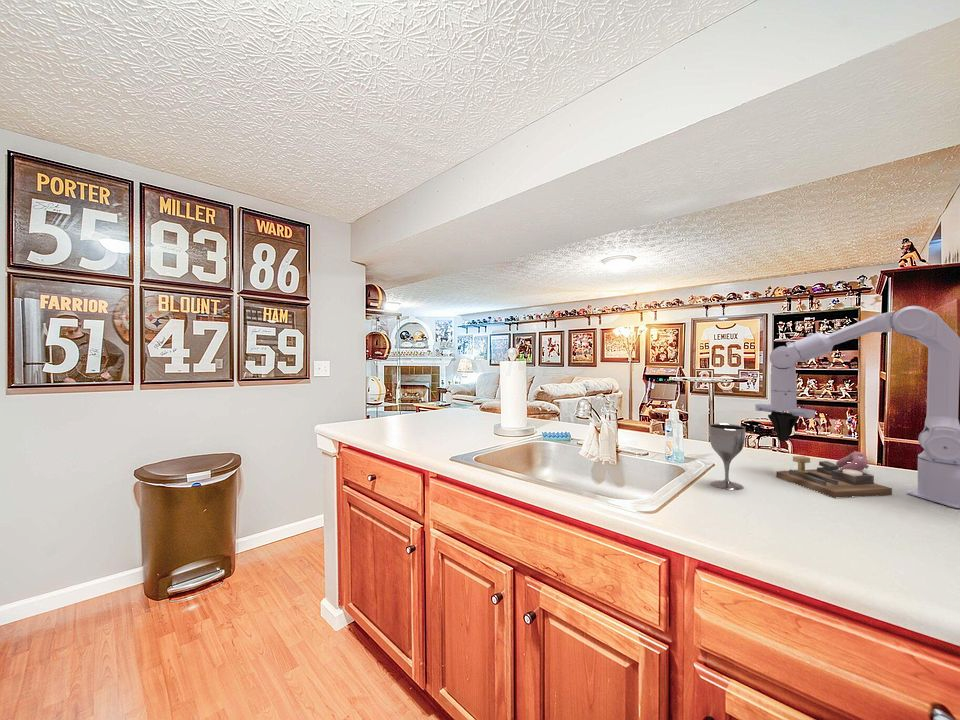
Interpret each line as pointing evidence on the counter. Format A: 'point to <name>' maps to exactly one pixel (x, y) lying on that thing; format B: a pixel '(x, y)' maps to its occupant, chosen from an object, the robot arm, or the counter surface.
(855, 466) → the pink toy figure
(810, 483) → the control panel
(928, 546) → the counter surface
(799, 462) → the slide lever
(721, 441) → the wine glass
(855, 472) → the push button
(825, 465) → the rocker switch
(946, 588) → the counter surface
